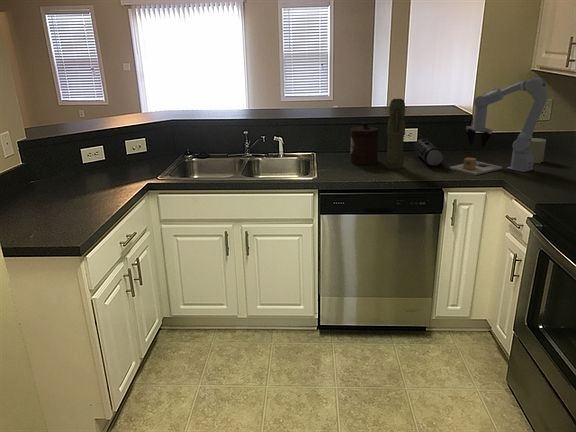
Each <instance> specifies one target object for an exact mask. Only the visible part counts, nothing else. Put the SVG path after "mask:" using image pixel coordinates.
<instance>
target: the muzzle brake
mask: <svg viewBox="0 0 576 432" xmlns="http://www.w3.org/2000/svg"><path fill="white" fill-rule="evenodd" d="M413 149H414V152H415V153H416V154H417V155H419V157H420V158H421V159H422V160H423V161H424V163H425V164H427V165H428V166H431V167H435V166H438V165H439V164H441V163H442V161H443V158H444V154H443V153H444V152H442V150H441V149H440V148H438V147H437V146H435V145H434V144H432V143H431V142H430V141H429V140H427V139H426V138H419V139H417V140H416V141H415V143H414V145H413Z"/></svg>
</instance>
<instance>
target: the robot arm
mask: <svg viewBox="0 0 576 432" xmlns="http://www.w3.org/2000/svg"><path fill="white" fill-rule="evenodd" d="M518 91H523V92H525V91H526V92H527V93H528V94H530V95H531V97H532V99H533V100H534V101H533V104H532V106H531V108H530V110H529V113H528V115H527V118H526V120H525V122H524V125H523V127H522V129H521V132H520V133H519V135H517V137H516V140H515V141H513V143H512V144H511V145H512V154H511V155H512V156H511V162H510V166H507V167H506V169H509V170H513V171H516V172H517V171H518V172H520V173H521V172H522V173H527V172H529V171H533V170H534V169H533V167H534V163H533V161H534V155H533V154H531V153H529V149H528V148H529V147H530V146H531V139H532V138H533V132H534V131H535V129H536V126H537V123H538V122H539V119H540V117H541V115H542V113H543V110H544V108H545V106H546V103H547V102H548V100H549V99H548V97H549V96H548V92H547V83H546V82H545V80H544V78H542V77H534V78H530V79H526V80H522V81H519V82H517V83H516V82H515V84H512V85H510V86H507V87H506V88H505V87H504V88H503V89H500V88H493V89H492V90H491V91H489V92H485V93H483V95H482V94H481V95H479V96H477V97H476V98H474V100H473V103H474V107H475V108H474V109H475V110H474V115H473V116H474V118H473V125H467V126H466V127H465V130H466V131H465V134H466V135H467V139H468V144H469V145H470V146H471V145H474V139H475V135H476V133H477V132H478V133H480V136H481V147H482V148H485V147H486V145H487V142H488V140H489V139H490V137H491V136H492V133H493V129H491V128H487V127H486V122H487V114H488V106H489V105H493V104H494V103H497V102H499V101H501V100H503V99H504V97H505V96H507V95H511V94H513V93H515V92H518Z"/></svg>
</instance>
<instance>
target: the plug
mask: <svg viewBox="0 0 576 432" xmlns="http://www.w3.org/2000/svg"><path fill="white" fill-rule="evenodd" d="M476 161H477V158H476V157H475V158H474V157H466V158H463V163H462V164H463V169H465V170H469V171H471V170H475V166H476Z"/></svg>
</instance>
